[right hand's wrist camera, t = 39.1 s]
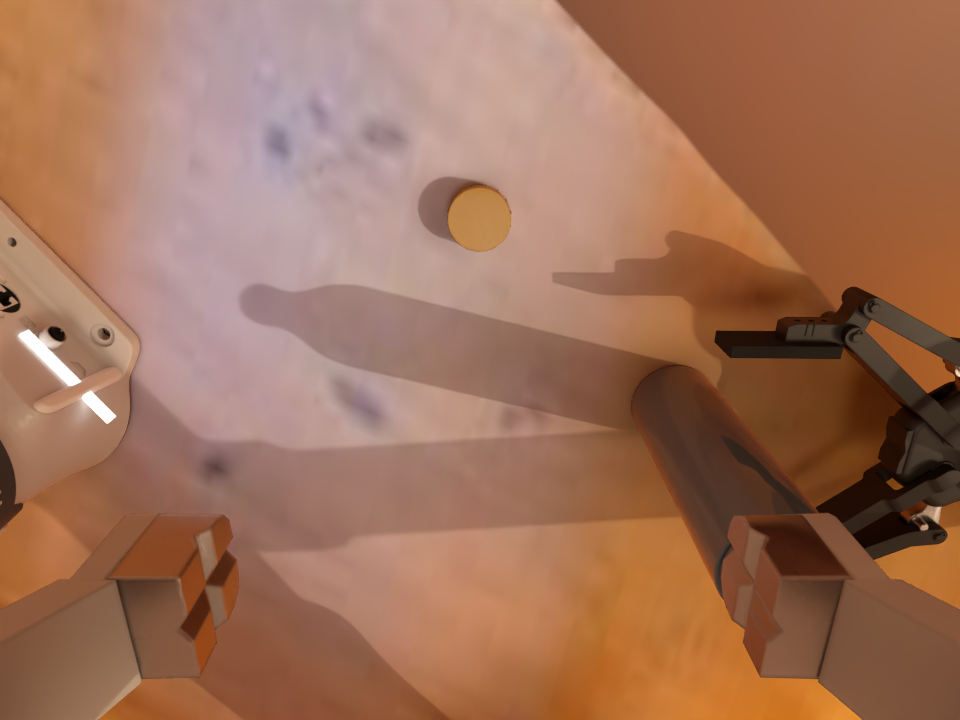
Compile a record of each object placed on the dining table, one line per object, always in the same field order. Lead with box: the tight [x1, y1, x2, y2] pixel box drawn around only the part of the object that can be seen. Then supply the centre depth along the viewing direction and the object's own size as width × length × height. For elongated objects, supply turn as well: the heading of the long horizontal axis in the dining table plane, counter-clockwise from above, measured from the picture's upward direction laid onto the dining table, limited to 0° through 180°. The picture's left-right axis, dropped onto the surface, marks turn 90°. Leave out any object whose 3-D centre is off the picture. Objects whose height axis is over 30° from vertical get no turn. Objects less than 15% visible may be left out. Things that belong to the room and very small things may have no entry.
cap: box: [448, 185, 511, 252], centre depth 42 cm, size 4×4×2 cm
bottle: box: [631, 366, 819, 600], centre depth 37 cm, size 6×6×23 cm
